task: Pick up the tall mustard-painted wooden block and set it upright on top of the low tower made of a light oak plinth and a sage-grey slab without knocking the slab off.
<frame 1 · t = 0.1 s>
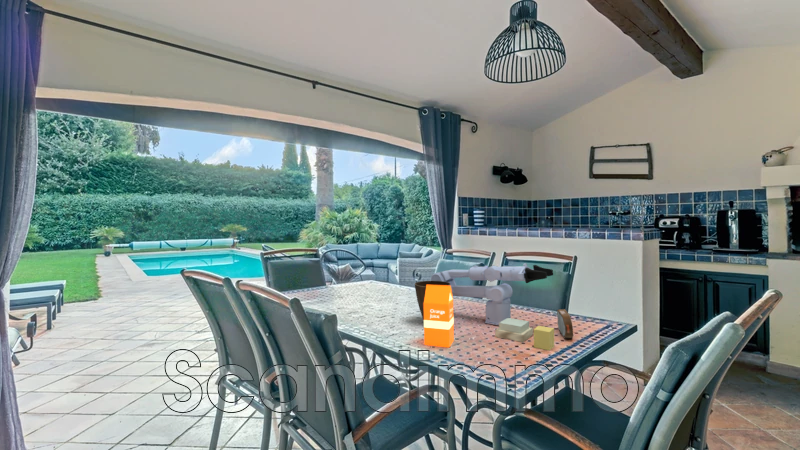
hand: (549, 273, 132), 22 cm above the table, tool horizontal, fingers open, 7 cm apart
mustard block: (544, 346, 117), on the table
orange juice: (439, 343, 123), on the table
oak plinth: (514, 335, 128), on the table
plant pot: (433, 322, 148), on the table
sage top slab: (514, 328, 128), point 2 cm above the table, touching oak plinth
tin: (564, 335, 129), on the table
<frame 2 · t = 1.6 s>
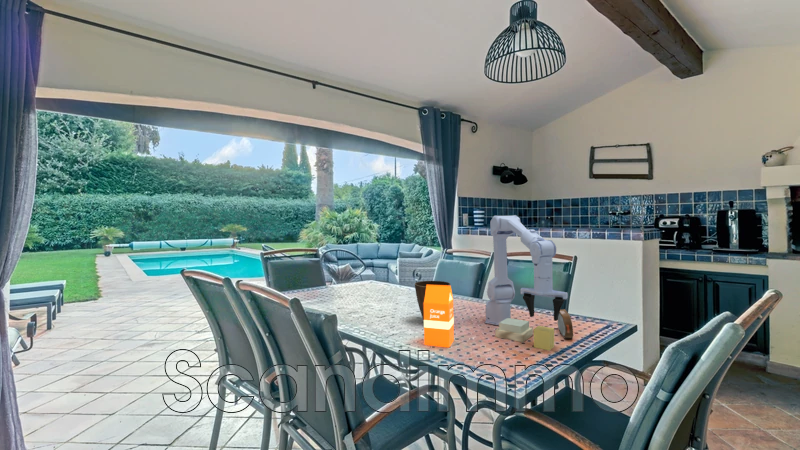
hand: (543, 318, 117), 9 cm above the table, tool pointing down, fingers open, 7 cm apart
nothing on the table moved.
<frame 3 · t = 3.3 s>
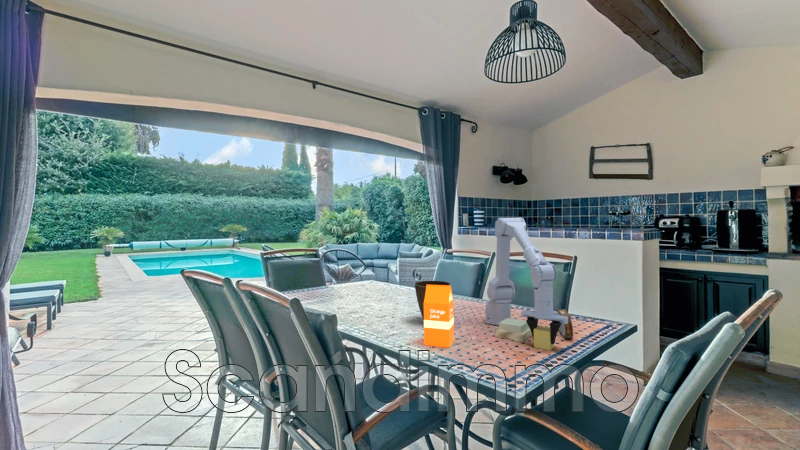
hand: (544, 341, 117), 2 cm above the table, tool pointing down, fingers closed on mustard block, 5 cm apart
mustard block: (544, 346, 117), on the table, touching gripper
everything else where it was.
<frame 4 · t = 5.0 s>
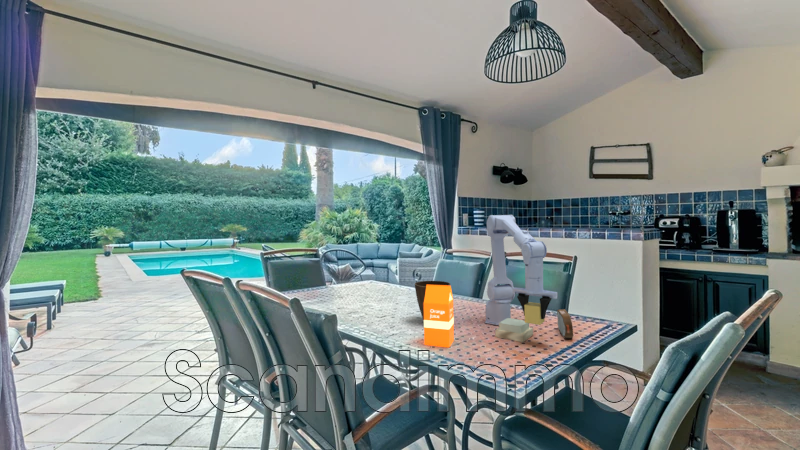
hand: (534, 317, 120), 9 cm above the table, tool pointing down, fingers closed on mustard block, 5 cm apart
mustard block: (534, 321, 120), point 7 cm above the table, touching gripper
everything else where it was.
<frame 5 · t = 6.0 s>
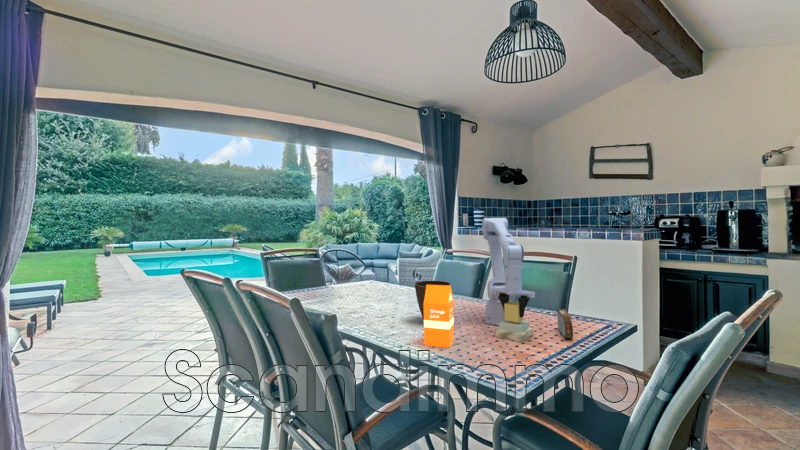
hand: (514, 315, 128), 7 cm above the table, tool pointing down, fingers closed on mustard block, 5 cm apart
mustard block: (514, 319, 128), point 6 cm above the table, touching gripper
everything else where it was.
when the fingers open (7 cm above the table, at t = 6.9 s): mustard block stays where it is, resting on sage top slab.
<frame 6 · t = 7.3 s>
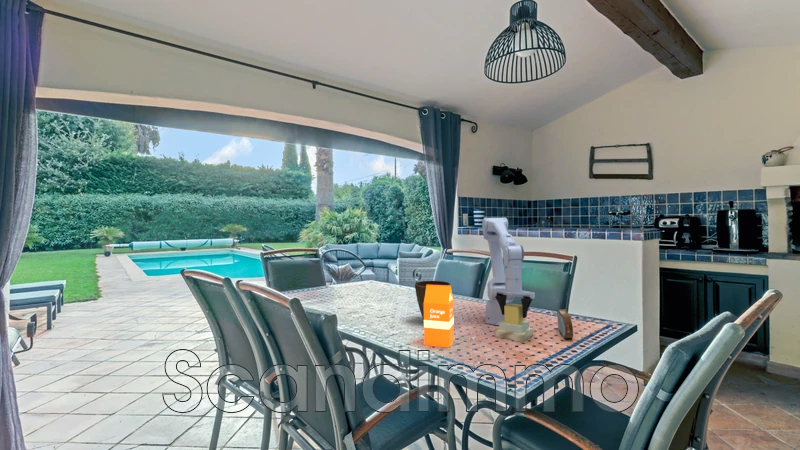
hand: (514, 315, 128), 7 cm above the table, tool pointing down, fingers open, 7 cm apart
mustard block: (514, 322, 128), point 5 cm above the table, touching sage top slab
sage top slab: (514, 328, 128), point 2 cm above the table, touching mustard block, oak plinth
everything else where it was.
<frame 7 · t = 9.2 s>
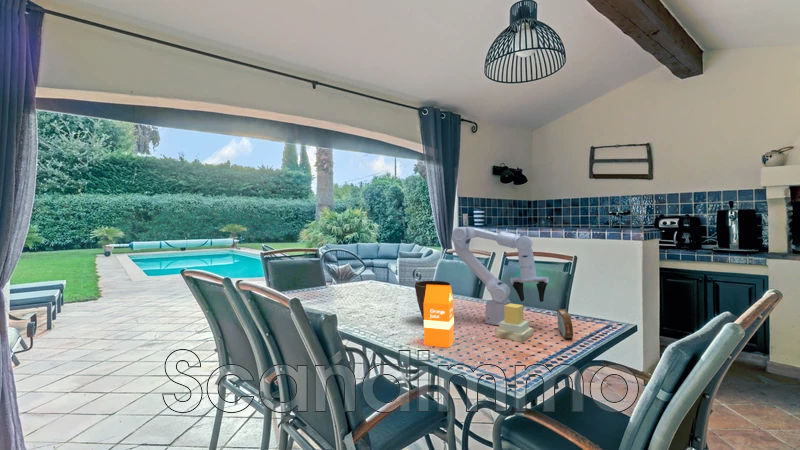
hand: (532, 301, 139), 10 cm above the table, tool pointing down, fingers open, 7 cm apart
nothing on the table moved.
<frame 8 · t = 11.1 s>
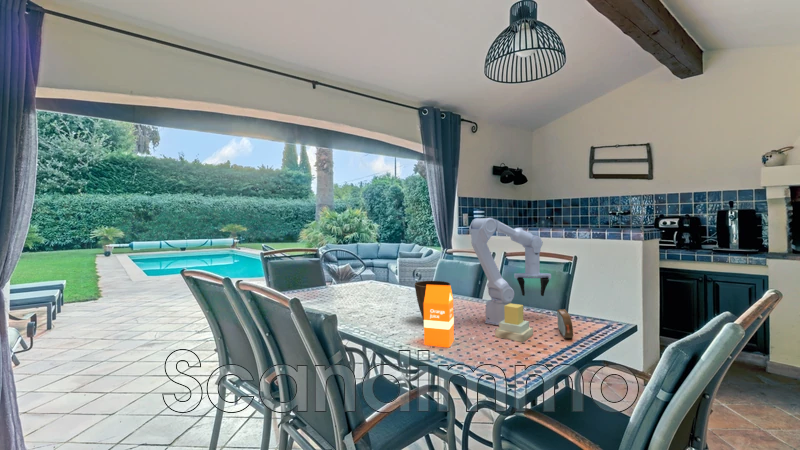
hand: (532, 295, 150), 10 cm above the table, tool pointing down, fingers open, 7 cm apart
nothing on the table moved.
at the end: mustard block 0.0 cm off-centre on the sage top slab, point 2.5 cm above the sage top slab's base; sage top slab moved 0.0 cm from its start; mustard block tilted 0° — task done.
